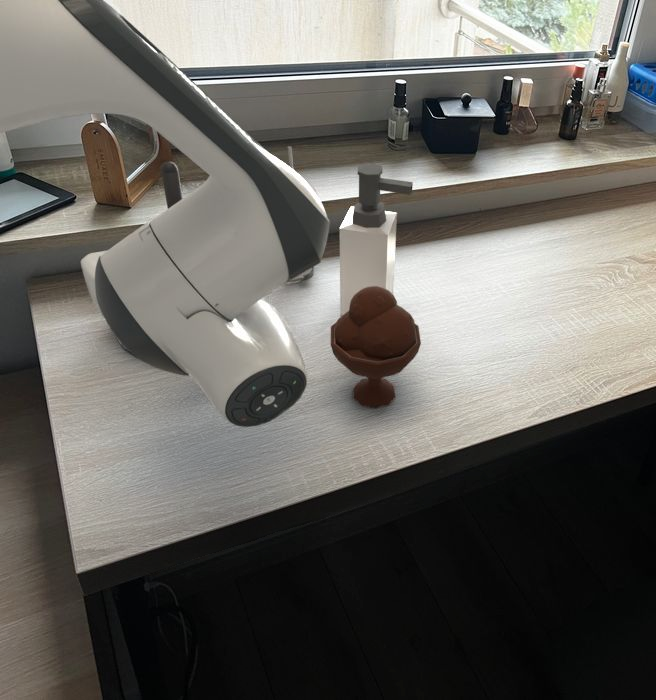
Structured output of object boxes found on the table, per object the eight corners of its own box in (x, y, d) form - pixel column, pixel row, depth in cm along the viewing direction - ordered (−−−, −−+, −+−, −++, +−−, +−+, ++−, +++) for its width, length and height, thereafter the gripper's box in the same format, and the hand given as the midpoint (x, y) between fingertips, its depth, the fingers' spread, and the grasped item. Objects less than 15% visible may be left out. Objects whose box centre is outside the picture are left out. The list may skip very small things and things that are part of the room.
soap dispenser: (400, 325, 104) (408, 185, 91) (340, 316, 105) (338, 175, 91) (408, 300, 109) (416, 164, 96) (351, 292, 110) (351, 155, 96)
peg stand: (166, 328, 80) (136, 177, 69) (163, 298, 84) (135, 151, 73) (222, 321, 82) (202, 173, 71) (217, 292, 86) (197, 148, 75)
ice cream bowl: (313, 402, 90) (309, 303, 81) (364, 355, 98) (365, 261, 89) (385, 435, 87) (389, 337, 78) (431, 384, 95) (440, 290, 86)
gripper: (317, 247, 71) (270, 187, 80) (90, 292, 62) (66, 218, 71) (319, 300, 75) (274, 237, 84) (106, 349, 66) (81, 272, 75)
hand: (177, 229), depth 77 cm, fingers closed on peg stand
